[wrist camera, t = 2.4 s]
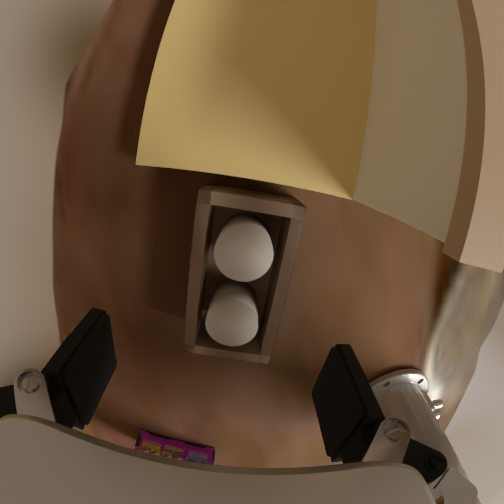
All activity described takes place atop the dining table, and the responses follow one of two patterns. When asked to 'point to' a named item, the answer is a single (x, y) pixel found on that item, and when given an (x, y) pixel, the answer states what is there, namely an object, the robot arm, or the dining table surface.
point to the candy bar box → (174, 448)
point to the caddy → (240, 271)
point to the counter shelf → (343, 106)
